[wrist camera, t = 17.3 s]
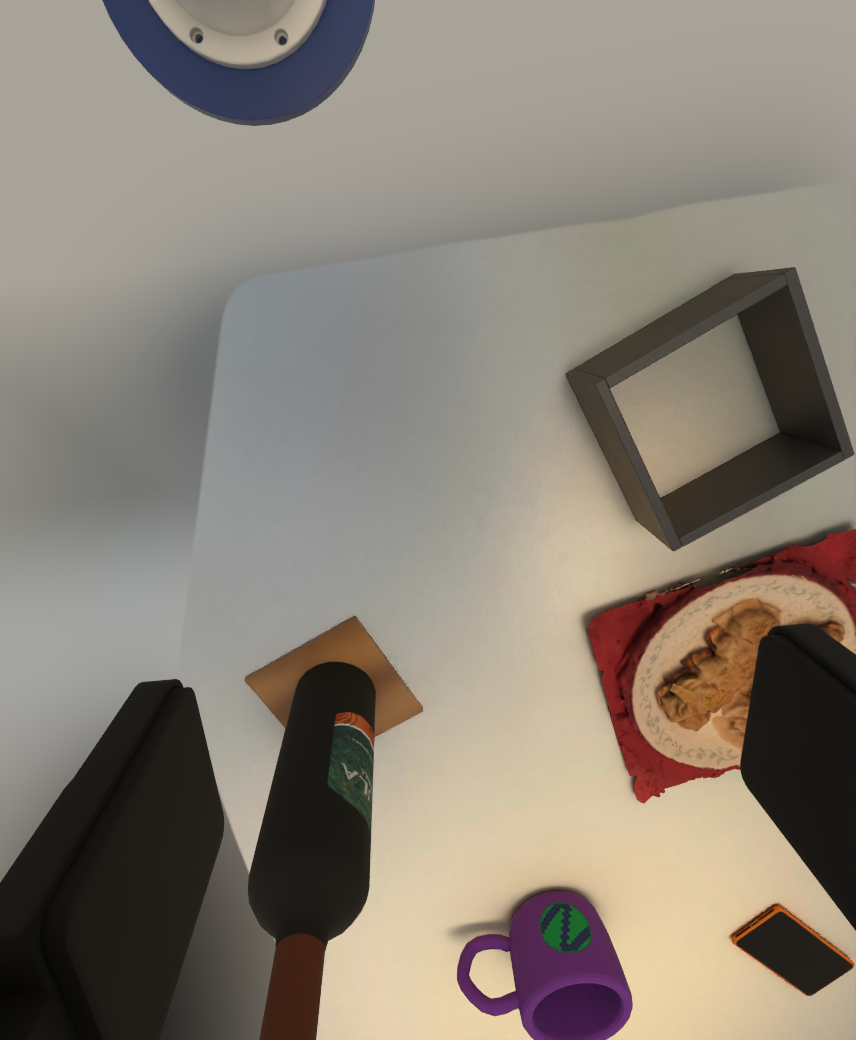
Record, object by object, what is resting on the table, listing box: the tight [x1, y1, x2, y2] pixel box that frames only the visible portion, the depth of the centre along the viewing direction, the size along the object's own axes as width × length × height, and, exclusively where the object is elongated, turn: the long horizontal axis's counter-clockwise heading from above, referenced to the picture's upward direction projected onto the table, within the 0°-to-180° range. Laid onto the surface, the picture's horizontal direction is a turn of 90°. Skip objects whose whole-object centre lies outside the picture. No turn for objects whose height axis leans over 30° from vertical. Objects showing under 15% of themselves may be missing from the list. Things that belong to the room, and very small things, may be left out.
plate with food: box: [587, 529, 856, 803], centre depth 55 cm, size 24×26×3 cm
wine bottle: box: [248, 662, 376, 1040], centre depth 40 cm, size 8×8×30 cm
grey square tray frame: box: [566, 267, 854, 551], centre depth 44 cm, size 15×15×7 cm
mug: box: [457, 891, 633, 1040], centre depth 62 cm, size 17×11×10 cm, turn 93°
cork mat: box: [245, 616, 423, 737], centre depth 54 cm, size 12×12×1 cm
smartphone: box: [732, 906, 854, 996], centre depth 71 cm, size 8×17×1 cm, turn 48°
